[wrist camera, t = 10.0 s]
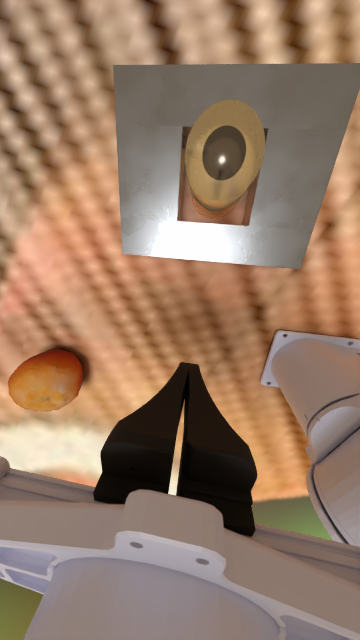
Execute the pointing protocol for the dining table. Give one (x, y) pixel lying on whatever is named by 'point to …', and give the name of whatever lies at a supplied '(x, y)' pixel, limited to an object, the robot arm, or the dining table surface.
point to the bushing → (223, 156)
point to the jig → (275, 172)
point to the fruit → (46, 381)
